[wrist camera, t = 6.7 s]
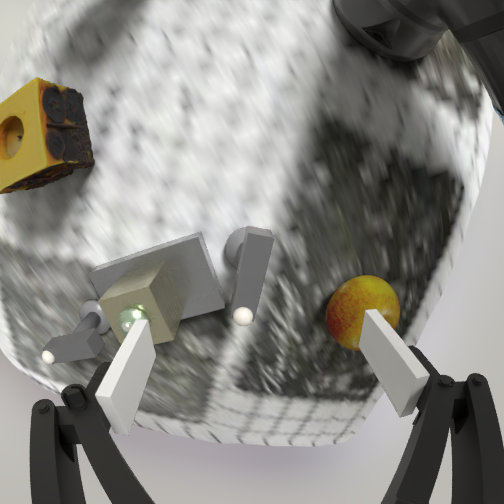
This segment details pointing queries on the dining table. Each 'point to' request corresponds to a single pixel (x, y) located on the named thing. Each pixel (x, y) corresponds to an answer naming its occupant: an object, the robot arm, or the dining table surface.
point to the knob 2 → (248, 270)
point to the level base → (181, 268)
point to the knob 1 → (79, 337)
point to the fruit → (359, 308)
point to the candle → (42, 136)
